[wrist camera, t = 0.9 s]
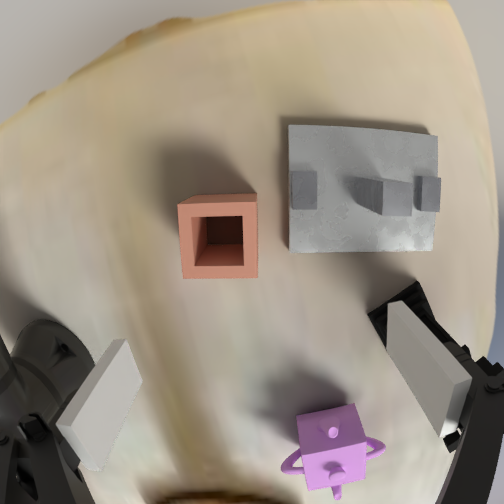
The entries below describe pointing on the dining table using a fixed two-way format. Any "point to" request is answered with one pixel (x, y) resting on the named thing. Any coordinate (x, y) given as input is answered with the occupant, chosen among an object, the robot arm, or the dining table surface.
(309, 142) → the stand
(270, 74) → the dining table surface
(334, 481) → the teapot
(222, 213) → the box
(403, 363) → the robot arm
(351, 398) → the dining table surface
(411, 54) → the dining table surface
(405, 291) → the chess piece
